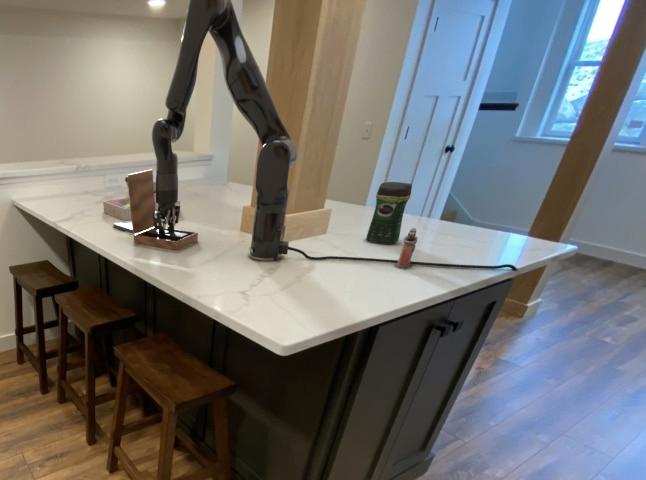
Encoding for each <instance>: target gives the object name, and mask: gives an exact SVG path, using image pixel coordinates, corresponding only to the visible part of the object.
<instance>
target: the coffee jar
mask: <svg viewBox="0 0 646 480" xmlns="http://www.w3.org/2000/svg"><path fill="white" fill-rule="evenodd" d="M412 185H413V184H412V183H408V182H402V181H401V182H399V181H385V182H382V183H380V184H379V187H378V189H377V192H376V195H375V200H376V202H375V203H376V204H375V208H374V212H373V215H372V218H371V220H370V221H371V222H370V224H369V227H368V230H367V233H366V237H365V240H366V241H367V242H370V243H373V244H382V245H392V244H393V245H394V244H396V243H397V242H398V241H399V239H400V235H401V231H402V229H401V228H402V223H403V217H404V212H405V208H406V205H407V203H408V201H409V200H410V198H411V197H412V189H413V186H412Z"/></svg>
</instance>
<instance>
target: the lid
mask: <svg viewBox="0 0 646 480" xmlns="http://www.w3.org/2000/svg"><path fill="white" fill-rule="evenodd" d="M153 176H154V173H153V169H147V170H143V171H142V170H141V171H138V172H134V173H133V172H132V173H129V174H126V177H125V178H124V181H125V183H126V182H127V183H128V186H127V188H128V190H127V191H128V197H129V199H130V209H131V219H132V220H131V221H132V229H133V233H132V234H133V235H135V234H137V233H140V231H142V232H143V230H145V229H148V228H150V229H151V228H153V227H154V221H153V212H156V211H155V197H154V194H155V192H154V184H153Z"/></svg>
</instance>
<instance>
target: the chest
mask: <svg viewBox="0 0 646 480" xmlns="http://www.w3.org/2000/svg"><path fill="white" fill-rule="evenodd" d="M151 229H155V228H154V227H151V228H150V229H148V230H145V231H142V232H137V233H135V234H133V244H135V245H140V246H147V247H151V248H156V249H157V248H158V249H163V250H168V251H175V252H178V251H180V250H182V249H184V248H186V247H188V246H189V247H190V245H194V244H195V243H198V241H199V240H198V239H199V232H196V231H190V230H182V229H175V228H174V232H179V233H185V234H188V236H187V237H185V238H183V239H180V240H178V241H172V240H166V239H160V238H153V237H147V236H146V234H145V232H146V231H149V230H151ZM165 231H168V227H165Z"/></svg>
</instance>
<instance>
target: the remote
mask: <svg viewBox="0 0 646 480" xmlns="http://www.w3.org/2000/svg"><path fill="white" fill-rule="evenodd" d="M150 229H151V228H150ZM145 234H146V236H147V237H153V238H159V230H158V229H151V230H149V231H146V232H145ZM187 236H188V234H185V233H179V232H172V231H165V239H166V240H172V241H178V240H180V239H183V238H185V237H187Z"/></svg>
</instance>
